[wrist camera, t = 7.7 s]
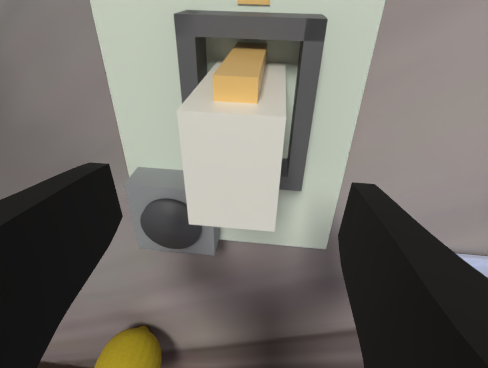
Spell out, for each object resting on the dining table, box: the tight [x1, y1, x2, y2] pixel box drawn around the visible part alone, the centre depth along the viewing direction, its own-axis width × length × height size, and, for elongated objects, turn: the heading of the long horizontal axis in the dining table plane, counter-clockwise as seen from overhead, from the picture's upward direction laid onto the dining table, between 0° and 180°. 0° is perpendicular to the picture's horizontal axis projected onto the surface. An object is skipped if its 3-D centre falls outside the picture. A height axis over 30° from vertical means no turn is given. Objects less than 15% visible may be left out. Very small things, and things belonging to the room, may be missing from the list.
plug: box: [177, 42, 286, 232], centre depth 13 cm, size 5×3×7 cm, turn 179°
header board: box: [90, 0, 385, 256], centre depth 16 cm, size 16×13×3 cm
